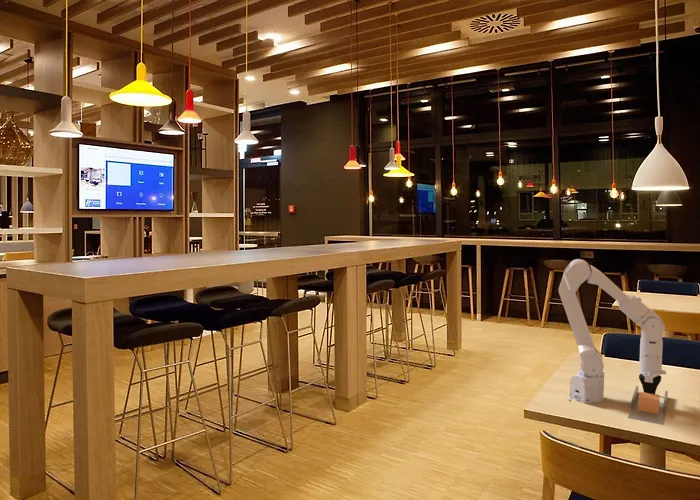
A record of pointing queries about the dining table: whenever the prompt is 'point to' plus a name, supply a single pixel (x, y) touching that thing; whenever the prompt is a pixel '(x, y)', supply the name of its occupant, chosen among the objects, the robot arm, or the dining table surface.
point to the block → (648, 402)
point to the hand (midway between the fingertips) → (649, 399)
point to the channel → (647, 416)
